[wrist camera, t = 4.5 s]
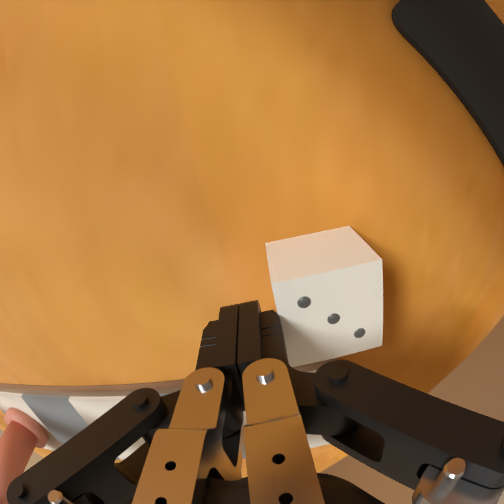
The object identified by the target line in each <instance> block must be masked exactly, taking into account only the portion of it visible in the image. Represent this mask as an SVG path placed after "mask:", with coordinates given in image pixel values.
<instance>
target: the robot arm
mask: <svg viewBox="0 0 504 504" xmlns="http://www.w3.org/2000/svg"><path fill="white" fill-rule="evenodd" d="M200 347H201V348H200V349H199V355H198V360H197V365H196V370H195V371H194V372H192V373H191V374H189V375H188V376H187V377H186V379H185V380H184V382H183V385H182V388H181V389H180V390H178V391H176V392H173V393H170V394H167V395H164V396H160V395H159V393H158V392H157V391H156V390H154V389H152V388H141V389H138V390H135V391H133V392H132V393H130V394H129V395H128V396H126V397H125V398H124V399H122V400H121V401H120V402H118V403H117V404H116V405H115V406H113V407H112V408H111V409H109V410H108V411H107V412H105V413H104V414H103V415H102V416H100V417H99V418H98V419H96V420H95V421H94V422H92V423H91V424H90V425H88V426H87V427H86V428H84V429H83V430H82V431H80V432H79V433H78V434H76V435H75V436H74V437H72V438H71V439H70V440H68V441H67V442H66V443H64V444H63V445H61V446H60V447H59V448H57V449H56V450H55V451H53V452H52V453H51V454H49V455H48V456H46V457H45V458H44V459H42V460H41V461H39V462H38V463H37V464H35V465H34V466H32V467H31V468H30V469H28V470H27V471H25V472H24V473H22V474H21V475H20V476H18V477H17V478H15V479H14V480H13V481H12V482H11V483H10V485H9V486H8V489H7V494H6V495H7V501H8V503H9V504H385V503H383V502H381V501H380V500H378V499H376V498H374V497H373V496H371V495H370V494H368V493H367V492H365V491H363V490H362V489H360V488H359V487H357V486H356V485H354V484H352V483H351V482H348V481H346V480H344V479H342V478H339V477H336V476H332V475H328V474H322V473H316V469H315V465H314V462H313V458H312V454H311V451H310V447H309V443H308V440H307V436H306V434H312V435H321V436H322V437H323V439H324V440H326V441H327V442H329V443H330V444H332V445H333V446H335V447H337V448H338V449H340V450H342V451H343V452H345V453H347V454H348V455H350V456H352V457H353V458H355V459H357V460H359V461H360V462H362V463H364V464H366V465H367V466H369V467H371V468H373V469H375V470H377V471H378V472H380V473H382V474H384V475H386V476H388V477H390V478H391V479H393V480H395V481H397V482H399V483H401V484H403V485H405V486H407V487H409V488H411V489H413V490H414V492H413V495H412V504H497V502H498V500H499V498H500V496H501V494H502V492H503V490H504V422H502V421H499V420H496V419H493V418H490V417H488V416H484V415H482V414H479V413H476V412H474V411H471V410H468V409H465V408H463V407H460V406H457V405H454V404H452V403H449V402H446V401H444V400H441V399H439V398H436V397H434V396H431V395H429V394H426V393H424V392H421V391H419V390H416V389H414V388H411V387H409V386H406V385H404V384H402V383H399V382H397V381H394V380H392V379H390V378H387V377H385V376H383V375H380V374H378V373H376V372H373V371H371V370H369V369H366V368H364V367H362V366H360V365H357V364H355V363H353V362H350V361H347V360H334V361H330V362H328V363H325V364H324V365H322V366H321V367H319V368H318V369H317V371H316V372H302V371H298V370H296V369H294V368H292V367H291V366H290V365H289V362H288V356H287V350H286V344H285V339H284V334H283V330H282V325H281V320H280V316H279V315H278V314H277V313H276V312H275V311H274V310H270V311H264V312H261V309H260V305H259V302H258V300H256V301H251V302H245V303H240V304H235V305H230V306H225V307H221V308H220V313H219V320H216V321H210V322H209V323H208V325H207V326H206V327H205V329H204V330H203V334H202V340H201V344H200ZM244 411H246V421H247V425H244V423H243V413H244ZM141 437H142V438H143V439H144V441H145V443H144V444H143V445H141V446H140V447H139V448H138V449H137V450H135V451H134V452H133V453H132V454H130V455H129V456H128V457H127V458H126V459H124V460H123V461H122V462H120V463H114V461H115V459H116V458H117V457H118V456H119V455H121V454H122V453H123V452H124V451H126V450H127V449H128V448H129V447H130V446H132V445H133V444H134V443H135V442H137V441H138V440H139V439H140V438H141ZM244 444H245V455H246V465H247V475H248V477H245V478H242V475H241V468H242V458H243V448H244Z"/></svg>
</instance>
